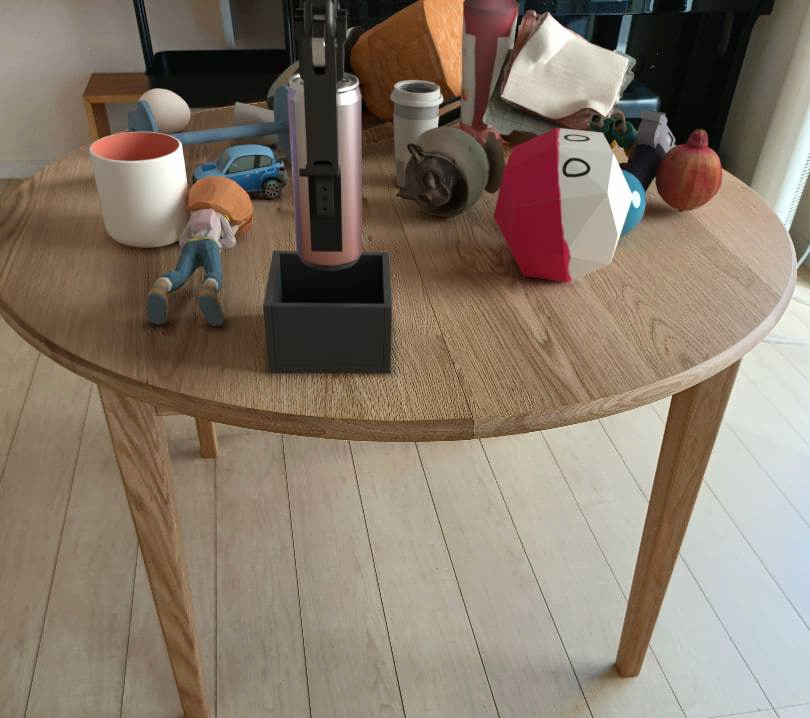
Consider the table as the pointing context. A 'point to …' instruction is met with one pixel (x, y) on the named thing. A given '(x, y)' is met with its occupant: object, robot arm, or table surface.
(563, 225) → the decorative object
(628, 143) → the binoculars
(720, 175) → the fruit
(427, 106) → the cup
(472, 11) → the liquor
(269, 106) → the running shoe
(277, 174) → the toy car
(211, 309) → the figurine
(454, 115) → the throwing knife
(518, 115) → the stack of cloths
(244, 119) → the long tapered cone
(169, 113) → the egg
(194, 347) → the table surface
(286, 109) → the dumbbell
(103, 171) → the cup
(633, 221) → the ball
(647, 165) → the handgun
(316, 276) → the trash bin
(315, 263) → the beverage can
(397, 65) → the bread
